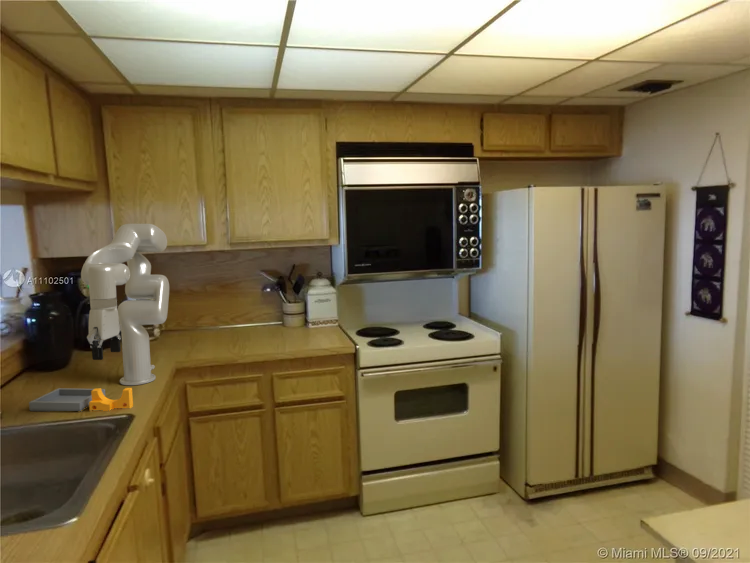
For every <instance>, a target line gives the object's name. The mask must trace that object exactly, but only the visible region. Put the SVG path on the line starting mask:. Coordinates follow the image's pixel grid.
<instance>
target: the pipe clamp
mask: <svg viewBox="0 0 750 563" xmlns="http://www.w3.org/2000/svg"><path fill="white" fill-rule="evenodd" d="M93 389H94V390H92V391H91V395H92V401H90V402H89V407H88V408H89V411H90V410H103V411H102V412H111V411H112V410H115V409H114V408H130V409H132V408H133V407H134V398H133V387H125V388H124V389H122V393H121V397H119V398H117V399H110V398H108V397H106V395H105V396H104V394H103V393H102V390H101V389H102V388H101V387H100V388H99V387H98V388H93ZM111 409H112V410H111ZM108 410H109V411H108ZM110 410H111V411H110Z"/></svg>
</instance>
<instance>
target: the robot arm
mask: <svg viewBox="0 0 750 563" xmlns="http://www.w3.org/2000/svg"><path fill="white" fill-rule="evenodd" d="M167 247H168V238H167V235H166V233H165V232H164V230H162V229H161V228H160V227H158V226H157V225H155V224H154V223H153V224H152V223H125V224H122V225H120V227H118V229H117V231H116V232H115V234H114V236H113V238H112V240H111V242H110V244H107V245H104V246H103V247H101V248H99V249H97V250H95V251H94V252H92V253H91V254H89V255H88V257H87V258H86V260H85V262H84V263H83V266H82V268H81V272H80V277H81V280H82V282H83V283H84V284H85V285H86V286H88V287H89V288H88V289H89V291H88V292H89V303H90V304H89V305H90V310H89V314H88V334H87V336H86V339H87V341H88V344H89V346H90V349H91V356H92V360H94V361H101V360H102V361H103V360H104V351H103V350H104V349H103V346H102V345H103V342H104V341H106V340H109V339H110V340H109V344H110V345H109V346H110V347H109V348H110V353H121V349H122V363H123V364H122V366H123V376H122V377H121V378H120V379H119V384H121V385H123V386H137V385H138V386H139V385H145V384H148V383H151V382H153V381H155V380H156V378H157V377H156V375H155V374H153V373H152V371H153V370H154V369H155V367H156V366H155V365H154V364H151V352H150V351H151V350H150V336H149V333H148V330H147V329H146V328H145V327H144V326H147V325H150V326H151V325H162V324H164V323H165V322H166V321H167V318H168V313H169V312H168V311H169V299H170V298H169V297H170V283H169V279H168V278H167V276H166V275H163V274H151V272H152V265H151V264H152V263H151V262H150V261H149V259H148V258H147V257H146V256H145V255H143V254H142V253H155V252H156V253H159V252H164V251H165V250H166V248H167ZM125 263H126V264H127V265H126V264H125ZM123 285H124V286H125V287H124V292H125V293H124V294H125V295H126V297H127V298H129V299H131V300H126V301H123V302H121V303H120V304H119V305H118V302H117V301H118V298H117V286H123ZM132 299H133V300H132ZM121 346H122V348H121Z"/></svg>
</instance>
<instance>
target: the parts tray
mask: <svg viewBox="0 0 750 563" xmlns="http://www.w3.org/2000/svg"><path fill="white" fill-rule="evenodd" d="M94 389H95V388H71V387H70V388H68V387H67V388H66V387H65V388H61V387H58V388H56V389H54V390H52V391H50V392H47V393H46V394H43V395H41V396H39V397H36V398H35V399H33V400H31V401H28V405H29V407H28V408H29V412H50V411H81V410H83V409H84V408H86V407H88V406H89V402H90V401H92V395H91V391H92V390H94ZM101 390H102V393H103V394H104V396H105V397H106V389H105V388H101ZM88 408H89V407H88ZM86 409H87V408H86ZM84 410H85V409H84ZM84 410H83V411H84ZM81 412H82V411H81Z"/></svg>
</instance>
